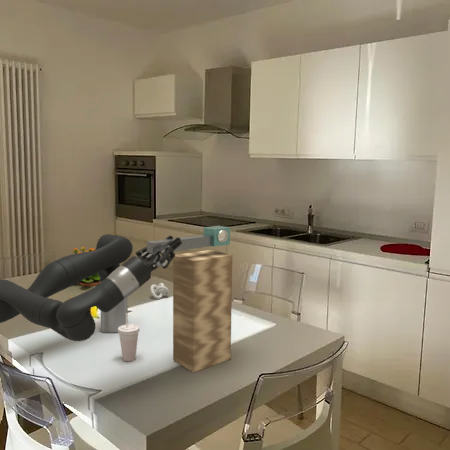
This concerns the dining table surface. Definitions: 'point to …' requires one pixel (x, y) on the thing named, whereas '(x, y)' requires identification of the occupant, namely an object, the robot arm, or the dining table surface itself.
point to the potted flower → (92, 279)
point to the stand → (202, 309)
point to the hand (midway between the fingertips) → (175, 239)
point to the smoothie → (128, 340)
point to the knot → (159, 291)
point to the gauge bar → (195, 240)
